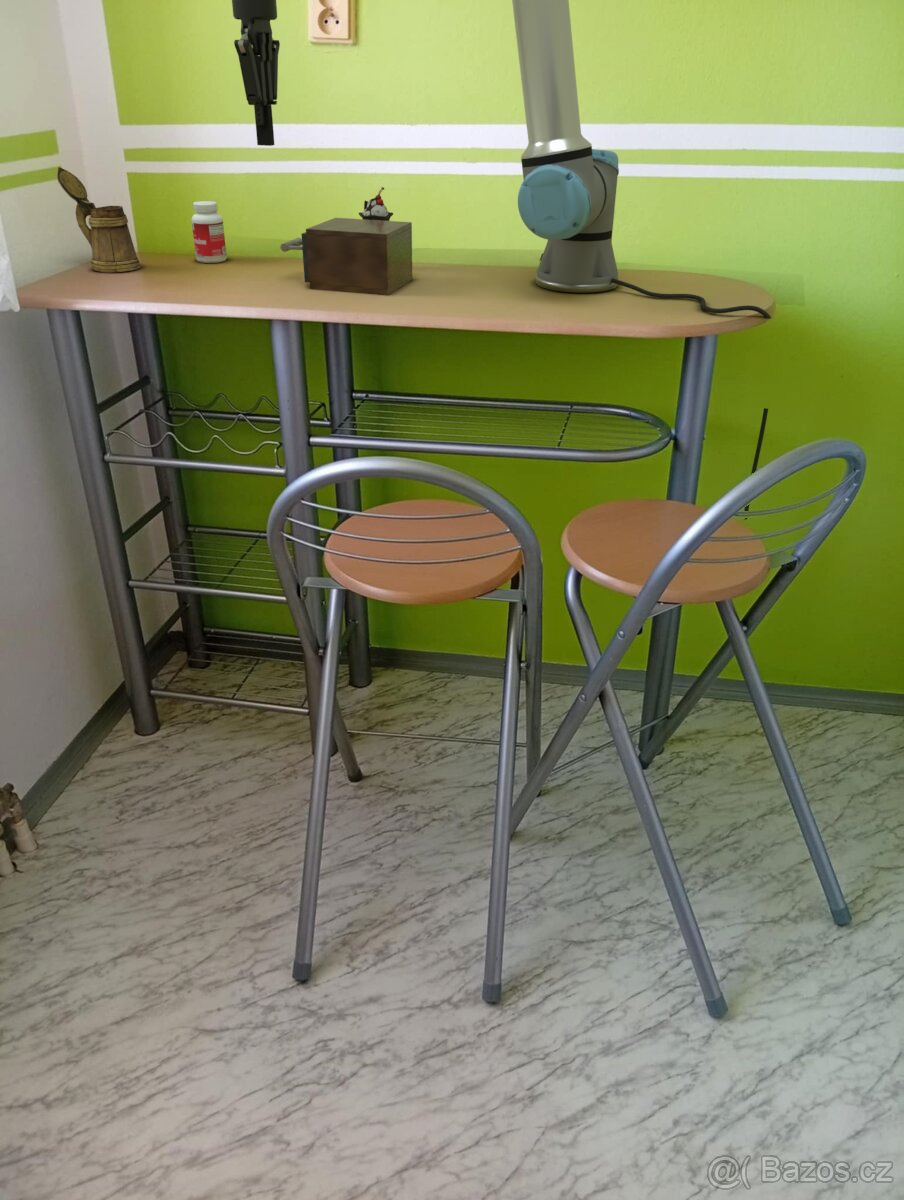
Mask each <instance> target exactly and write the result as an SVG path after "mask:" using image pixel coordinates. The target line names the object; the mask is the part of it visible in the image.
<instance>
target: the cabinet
mask: <svg viewBox="0 0 904 1200" xmlns="http://www.w3.org/2000/svg"><path fill="white" fill-rule="evenodd" d="M305 232H306V240H307V255H308V271H309V282H308V283H309V284H308V286H309V289H310V290H322V291H334V292H345V293H346V292H347V293H357V294H369V295H371V294H372V295H381V296H383V295H385V296H389V295H391V294H392V293H394V292H395V291H397V290H399V289H400V288H402V287H403V286H405V285H407V284H408V283H410V282H412V281H413V223H412V221H396V220H390V221H382V220H365V219H362V218H348V217H333V218H331V219H328V220H326V221H324V222H320V223H318V224H315V225H313V226H309V227H307V228H305Z"/></svg>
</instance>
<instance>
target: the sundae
mask: <svg viewBox="0 0 904 1200" xmlns="http://www.w3.org/2000/svg"><path fill="white" fill-rule="evenodd" d="M384 190H385V187H384V186H383V187H382V186H381V189H380V190H379V191H378V193H377V195H375V197H373V198H371V199H369V200H368V201H367V200H364V202H363V211H362V212H358V215H359V216H360V217H361V219H365V220H382V221H391V220H390V219H391V217H392V216H394V213H393V211H392V212H390V211H389V210H388V208H387V206H386V205H385V203H384V200H383V198H382V196H381V193H382V192H383V191H384Z"/></svg>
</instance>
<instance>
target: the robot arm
mask: <svg viewBox="0 0 904 1200" xmlns="http://www.w3.org/2000/svg"><path fill="white" fill-rule="evenodd" d="M511 3H512V12H513V19H514V21H513V22H514V28H515V29H514V30H515V38H516V46H517V54H518V63H519V71H520V82H521V88H522V97H523V107H524V114H525V123H526V131H527V132H526V133H527V140H528V144H527V147H526V148H525V150H524V151H523V153H522V154H521V156H520V160H521V170H522V177H523V181H522V183H521V185H520V187H519V190H518V195H517V208H518V213H519V217H520V218H521V221H522V223H523V224H524V226H526V228H527V229H528V230H529V231H530V232H531V233H532V234H533V235H535V236H536V237H539V238H541V239H544V240H547V242H546V244H545V247H544V250H543V252H542V254H541V256H540V257H539V264H538V267H537V270H536V274H535V284H536V285H537V286H538V287H541V288H543V289H546V290H550V291H554V292H555V291H556V292H563V293H574V294H575V293H576V294H584V293H585V294H586V293H587V294H591V293H601V292H608V291H612V290H614V289H616V288H617V287H618V286H621V287H625V288H627V289H629V290H633V291H635V292H638V293H640V294H642V295H645V296H648V297H653V298H657V299H689V300H695V301H699V302H700V308H701V309H702V310H703V311H705V312H708V313H711V314H729V313H734V312H740V311H752V312H755V313H759V314H760V315H762V316H763V317H764V319H768V320H769V319H772V317H771V315H770V314H769V312H767V310H765V309H764V308H761V307H759V306H756V305H750V304H749V305H738V306H732V307H725V308H716V307H715V308H714V307H710V306H708V305H706V300H705V298H704V297H703V296H700V295H696V294H691V293H661V292H654V291H649V290H647V289H644V288H642V287H639V286H637V285H635V284H632V283H629V282H626V281H623V280H619V271H618V266H617V262H616V257H615V252H614V247H613V242H612V241H613V231H614V230H613V229H614V219H615V211H616V210H615V208H616V198H617V187H618V178H619V177H618V176H619V173H620V169H619V156H618V154H617V153H616V152H615V151H612V150H607V149H597V148H596V149H594V148H593V146H592V145H593V144H592V143H591V142H590V141H589V140H587V139H586V138H585V137H584V136H583V134H582V128H581V127H582V126H581V119H580V118H581V117H580V108H579V96H578V88H577V87H578V85H577V77H576V65H575V53H574V42H573V33H572V23H571V11H570V10H571V9H570V1H569V0H511ZM231 6H232V7H231V8H232V16H233V18H234V19H235V20H240V21H241V22H240V35H241V37H240V38H239V39H234V41H233V43H234V48H235V51H236V54H237V56H238V61H239V66H240V71H241V76H242V82H243V87H244V93H245V97H246V101H247V105H249V106H253V108H254V110H253V111H254V120H255V132H256V142H257V144H256V145H257V146H265V147H272V146H275V133H274V121H273V109H272V107H273V106H276V105H278V101H277V100H278V84H279V83H278V82H279V81H278V80H279V79H278V77H279V75H278V74H279V52H280V48H281V42H280V40H279V39H274V38H273V30H272V25H271V21H276V20H277V18H278V7H277V0H231ZM768 412H769V408H765V407H764V408H763V412H762V418H761V422H760V429H759V433H758V439H757V443H756V449H755V454H754V459H753V463H752V468H751V473H750V475H751V474H752V473H754V472H755V471H756V472H757V469H758V464H759V460H760V455H761V450H762V445H763V441H764V437H765V435H764V434H765V430H766V424H767V419H768V414H769V413H768ZM750 504H751V503H750ZM750 504H749V505H748V506H746V507H745V506H744V510H743V512H744V511H748V512H749V509H750ZM744 520H745V521H746V520H748V517H747V518H745V519H744Z"/></svg>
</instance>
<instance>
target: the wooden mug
mask: <svg viewBox="0 0 904 1200" xmlns="http://www.w3.org/2000/svg"><path fill="white" fill-rule="evenodd" d="M56 178H57V182H58V184H59V185H60V187H61V189H62V190H63V191H64V192H65V193H66V194H67V195H68V197H69V198H71V199H72V200H73V201H75V202H76V203H77V204H76V206H75V219H76V222H77V226H78V227H79V229H80V231H81V232H82V234H83V236H84V237H85V238H86V240H87V242H88V243H89V245H90V248H91V255H92V257H91V258H90V264H91V269H92V270H93V271H95V272H99V273H105V274H109V273H124V272H132V271H135V270H139V269H140V268H141V266H142V265H141V262H140V258H139V257H138V256H137V253H136V249H135V246H134V242H133V239H132V235H131V232H130V229H129V225H128V223H129V219H128V217H127V215H126V213H125V211H124V208H123V206H122V205H105V206H100V207H96V204H95V203H94V202H91V201H90V200H89V199H88V193H87V189H86V187H85V185H84V184H83V183H82V181H81V180H80V179H79V178H78V177H77V176H76V175H75V174H73V173H71V172H70V171H69V170H67V169H65V168H62V167H61V166H58V167H57V176H56ZM87 217H88V224H87ZM89 226H90V227H89Z"/></svg>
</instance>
